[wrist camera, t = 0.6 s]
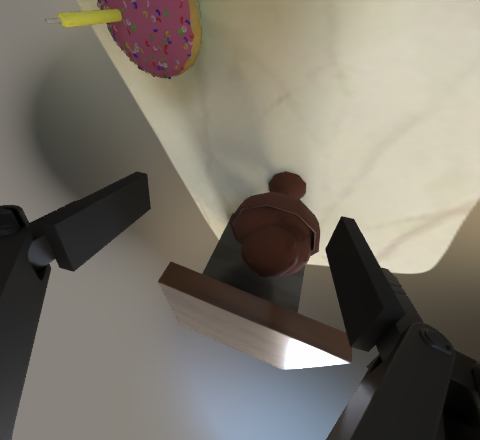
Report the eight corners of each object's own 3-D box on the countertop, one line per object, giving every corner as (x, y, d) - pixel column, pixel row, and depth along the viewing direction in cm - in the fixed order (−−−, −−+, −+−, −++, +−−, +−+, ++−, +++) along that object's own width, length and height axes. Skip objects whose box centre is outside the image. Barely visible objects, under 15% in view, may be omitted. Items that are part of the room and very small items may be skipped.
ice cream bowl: (239, 168, 31) (191, 248, 22) (315, 143, 24) (293, 242, 15) (268, 217, 36) (240, 296, 27) (336, 207, 30) (329, 307, 21)
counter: (239, 153, 29) (157, 281, 17) (352, 190, 27) (352, 363, 15) (228, 224, 42) (178, 324, 30) (303, 252, 40) (283, 369, 28)
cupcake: (149, 55, 23) (57, 90, 16) (124, -74, 17) (-53, -116, 9) (219, 73, 22) (154, 119, 15) (222, -59, 16) (108, -92, 8)
